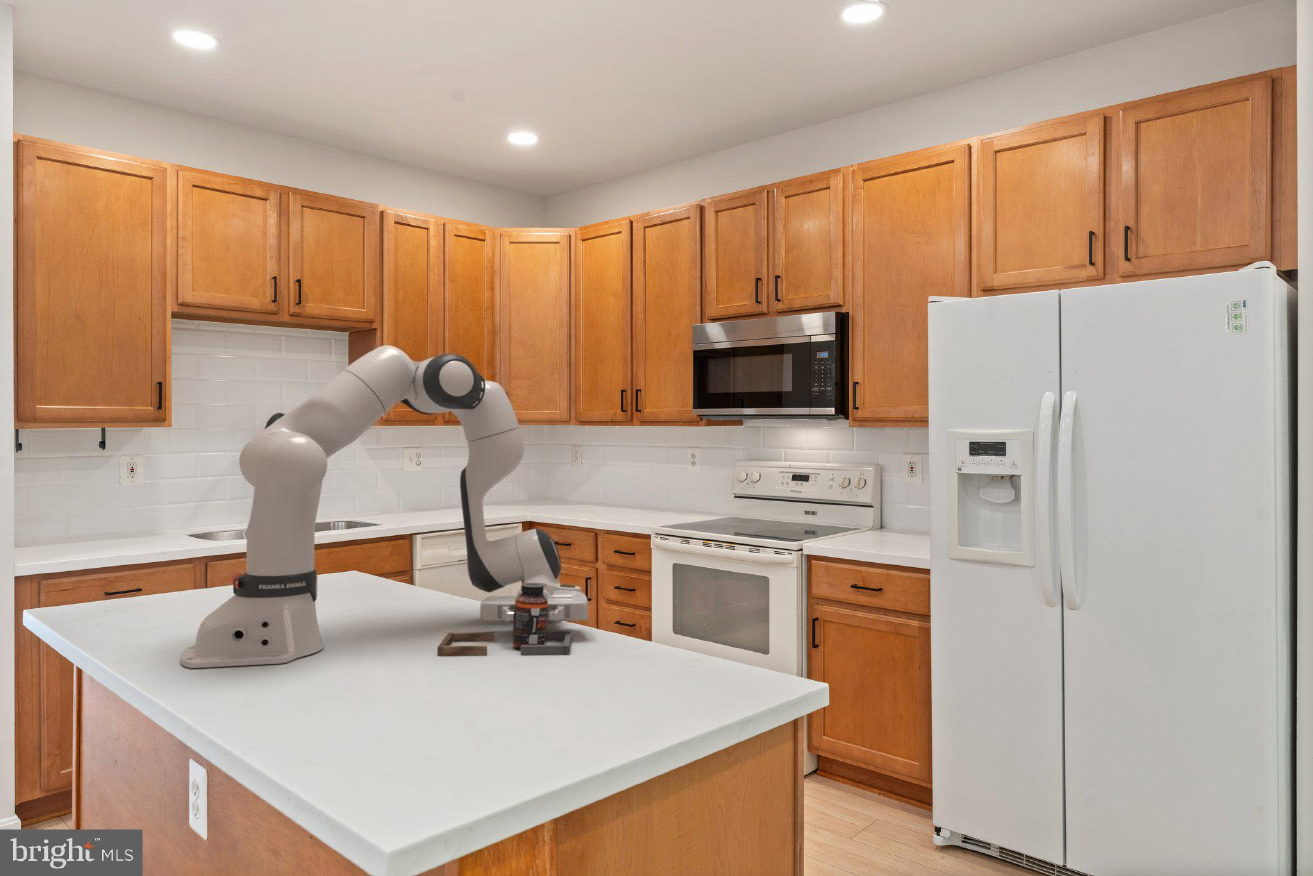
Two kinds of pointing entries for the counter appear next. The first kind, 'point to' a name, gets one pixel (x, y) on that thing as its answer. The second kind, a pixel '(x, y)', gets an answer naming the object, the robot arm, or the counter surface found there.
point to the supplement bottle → (530, 616)
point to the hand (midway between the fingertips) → (531, 617)
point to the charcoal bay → (550, 648)
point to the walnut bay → (448, 650)
